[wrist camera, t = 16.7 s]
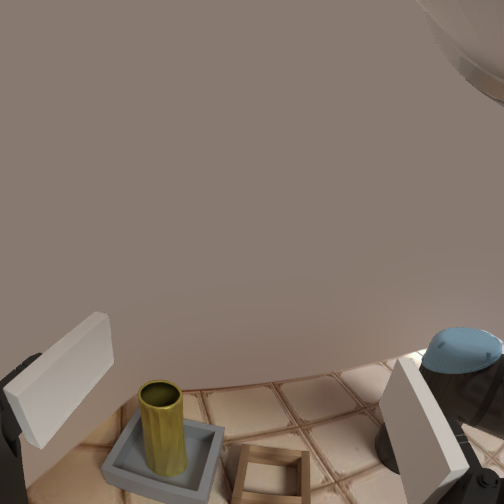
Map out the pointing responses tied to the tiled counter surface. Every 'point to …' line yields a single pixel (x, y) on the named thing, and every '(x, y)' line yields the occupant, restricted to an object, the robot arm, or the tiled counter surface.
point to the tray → (159, 487)
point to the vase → (163, 427)
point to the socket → (243, 500)
